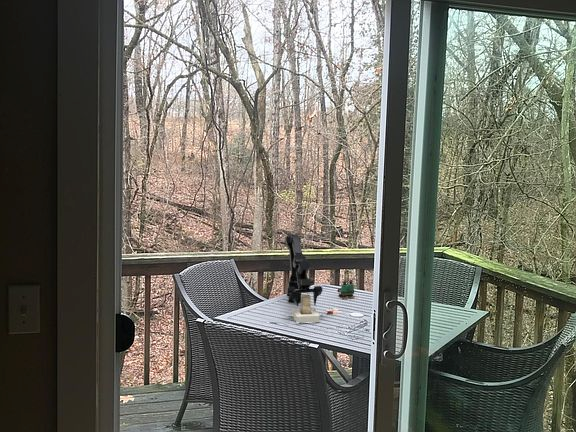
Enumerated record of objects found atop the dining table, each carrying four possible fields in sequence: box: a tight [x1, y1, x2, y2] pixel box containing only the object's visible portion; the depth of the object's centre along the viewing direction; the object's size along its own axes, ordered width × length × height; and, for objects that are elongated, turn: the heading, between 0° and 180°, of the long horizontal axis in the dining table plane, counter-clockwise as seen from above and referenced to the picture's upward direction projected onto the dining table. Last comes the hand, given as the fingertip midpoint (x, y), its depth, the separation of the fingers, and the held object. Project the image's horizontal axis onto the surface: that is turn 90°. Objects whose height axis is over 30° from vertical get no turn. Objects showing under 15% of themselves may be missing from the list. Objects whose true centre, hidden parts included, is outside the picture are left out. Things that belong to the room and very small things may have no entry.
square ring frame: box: [291, 307, 320, 323], centre depth 324 cm, size 12×12×4 cm
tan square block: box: [300, 294, 312, 315], centre depth 323 cm, size 4×4×13 cm
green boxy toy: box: [337, 279, 355, 300], centre depth 361 cm, size 9×11×10 cm
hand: (306, 305), depth 321 cm, fingers open, 9 cm apart
